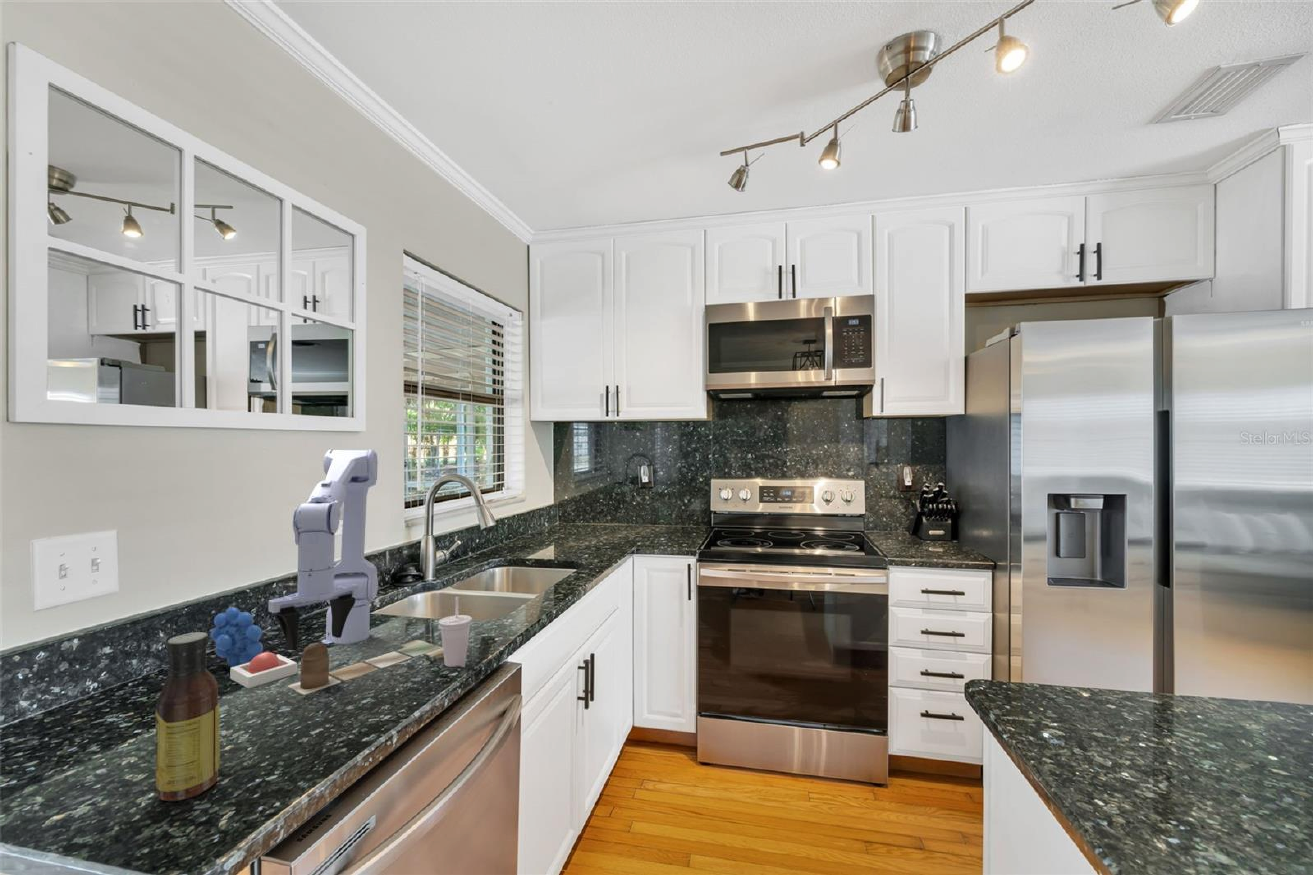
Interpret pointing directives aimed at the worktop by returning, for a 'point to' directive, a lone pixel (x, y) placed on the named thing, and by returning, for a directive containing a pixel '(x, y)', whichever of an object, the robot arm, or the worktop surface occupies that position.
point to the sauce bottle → (187, 722)
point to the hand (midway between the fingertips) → (315, 642)
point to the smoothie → (455, 638)
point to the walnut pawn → (314, 666)
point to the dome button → (263, 662)
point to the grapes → (236, 637)
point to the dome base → (263, 673)
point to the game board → (377, 663)
